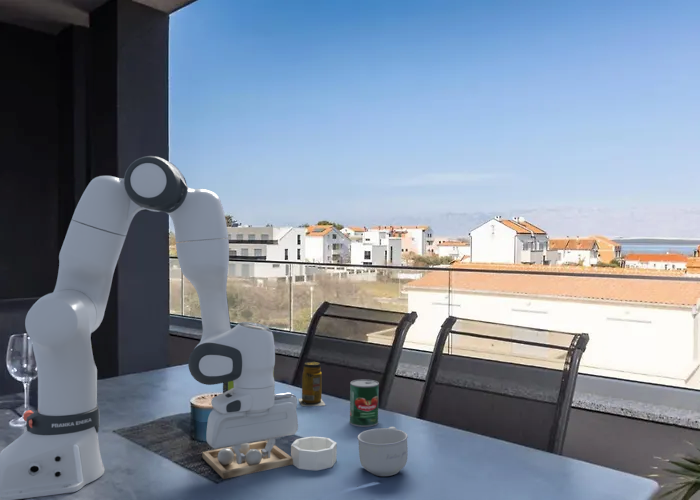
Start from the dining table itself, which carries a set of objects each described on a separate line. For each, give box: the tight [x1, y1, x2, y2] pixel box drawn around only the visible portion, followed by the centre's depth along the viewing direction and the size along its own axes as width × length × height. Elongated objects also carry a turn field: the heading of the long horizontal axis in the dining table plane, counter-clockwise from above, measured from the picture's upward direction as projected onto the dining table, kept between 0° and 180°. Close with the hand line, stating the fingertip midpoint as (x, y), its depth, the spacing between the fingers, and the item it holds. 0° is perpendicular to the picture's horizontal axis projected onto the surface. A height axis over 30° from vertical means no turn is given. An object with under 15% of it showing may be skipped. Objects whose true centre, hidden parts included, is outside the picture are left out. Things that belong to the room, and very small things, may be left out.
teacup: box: [357, 426, 409, 477], centre depth 128 cm, size 14×11×8 cm
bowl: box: [290, 435, 338, 471], centre depth 129 cm, size 9×9×5 cm
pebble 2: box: [238, 442, 250, 455], centre depth 133 cm, size 4×4×4 cm
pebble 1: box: [217, 447, 234, 465], centre depth 127 cm, size 4×4×4 cm
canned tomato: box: [349, 379, 380, 428], centre depth 160 cm, size 8×8×11 cm
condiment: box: [297, 361, 326, 407], centre depth 180 cm, size 7×8×12 cm
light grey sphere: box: [245, 449, 262, 466], centre depth 127 cm, size 4×4×4 cm
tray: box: [201, 440, 294, 480], centre depth 130 cm, size 16×14×2 cm
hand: (253, 460), depth 127 cm, fingers open, 4 cm apart
